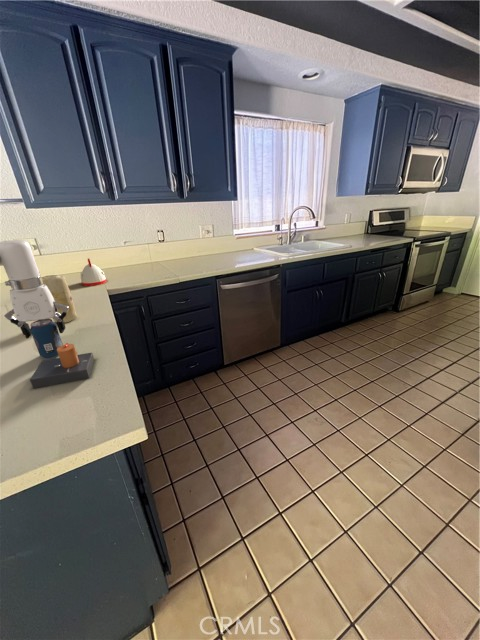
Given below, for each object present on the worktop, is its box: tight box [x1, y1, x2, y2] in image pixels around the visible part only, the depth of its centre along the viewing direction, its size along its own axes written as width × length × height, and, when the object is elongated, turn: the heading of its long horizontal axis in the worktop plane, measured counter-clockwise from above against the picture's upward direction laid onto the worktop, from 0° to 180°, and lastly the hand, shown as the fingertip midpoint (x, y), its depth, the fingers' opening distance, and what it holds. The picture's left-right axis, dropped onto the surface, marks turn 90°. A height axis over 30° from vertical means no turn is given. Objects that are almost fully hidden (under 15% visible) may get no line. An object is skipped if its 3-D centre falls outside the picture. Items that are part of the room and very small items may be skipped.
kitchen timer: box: [80, 258, 107, 287], centre depth 165 cm, size 14×14×15 cm
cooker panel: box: [29, 352, 95, 389], centre depth 79 cm, size 14×10×3 cm
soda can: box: [30, 318, 64, 360], centre depth 87 cm, size 7×7×12 cm
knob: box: [57, 342, 79, 368], centre depth 78 cm, size 4×4×6 cm
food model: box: [41, 274, 78, 324], centre depth 110 cm, size 10×7×20 cm
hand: (46, 333), depth 86 cm, fingers open, 9 cm apart
